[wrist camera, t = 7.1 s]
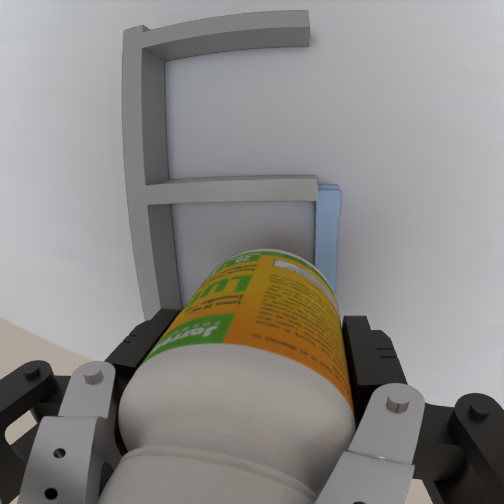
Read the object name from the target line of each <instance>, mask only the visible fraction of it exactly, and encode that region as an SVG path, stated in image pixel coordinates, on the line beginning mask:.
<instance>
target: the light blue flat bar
mask: <svg viewBox="0 0 504 504" xmlns="http://www.w3.org/2000/svg"><path fill="white" fill-rule="evenodd" d="M340 208H341V191H340V190H339V186H338V185H334V184H318V201H315V267H316V268H317V269H318V270H319V271H320V272H321V273H322V274H323V275H324V277H325V278H326V279H327V281H328V282H329V284H330V286H331V287H332V290H333V292H334V295H335V284H336V265H337V242H338V215H340Z"/></svg>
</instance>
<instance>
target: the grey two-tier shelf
mask: <svg viewBox="0 0 504 504" xmlns="http://www.w3.org/2000/svg"><path fill="white" fill-rule="evenodd" d="M309 40H310V23H309V13H308V10H287V11H267V12H254V13H244V14H235V15H227V16H219V17H213V18H206V19H200V20H195V21H189V22H184V23H179V24H175V25H170V26H166V27H161V28H157V29H153V30H150V29H148V28H147V27H145V26H144V25H140V26H137V27H133V28H130V29H127V30H124V34H123V54H122V131H123V153H124V168H125V182H126V193H127V203H128V213H129V222H130V230H131V238H132V245H133V253H134V259H135V266H136V272H137V278H138V284H139V290H140V296H141V301H142V307H143V312H144V317H145V321H147V320H151V319H152V318H153V317H154V315H155V314H156V313H157V312H158V311H159V310H160V309H161V308H167V309H181V310H182V304H181V297H180V289H179V282H178V273H177V265H176V256H175V247H174V238H173V227H172V217H171V205H170V204H172V203H197V202H232V201H318V179H317V177H316V176H315V175H269V176H233V177H211V178H192V179H177V180H169V179H168V163H167V144H166V120H165V61H167V60H173V59H178V58H183V57H189V56H195V55H202V54H209V53H216V52H224V51H233V50H243V49H255V48H270V47H297V46H309Z"/></svg>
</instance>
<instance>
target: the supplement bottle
mask: <svg viewBox="0 0 504 504" xmlns="http://www.w3.org/2000/svg"><path fill="white" fill-rule="evenodd" d="M118 419H119V428H120V433H121V436H122V439H123V442H124V444H125V446H126V448H127V450H128V453H127V454H125V455H124V456H123V457H122V458H121V460H120V462H119V465H118V467H117V468H116V469H115V470H114V472H113V474H112V475H111V477H110V479H109V480H108V482H107V484H106V485H105V487H104V489H103V491H102V493H101V495H100V497H99V500H98V503H97V504H315V502H316V500H317V499H318V497H319V495H320V494H321V492H322V490H323V488H324V487H325V485H326V483H327V481H328V479H329V478H330V476H331V474H332V472H333V470H334V468H335V467H336V465H337V463H338V461H339V459H340V457H341V455H342V453H343V452H344V450H345V449H347V450H348V448H349V446H350V444H351V442H352V440H353V438H354V436H355V433H356V424H355V415H354V407H353V400H352V393H351V385H350V378H349V371H348V365H347V358H346V352H345V346H344V340H343V334H342V327H341V321H340V315H339V309H338V305H337V301H336V298H335V295H334V292H333V290H332V287H331V286H330V284H329V282H328V281H327V279H326V278H325V277H324V275H323V274H322V273H321V272H320V271H319V270H318V269H317V268H316V267H315V266H314V265H312V264H311V263H310V262H308V261H307V260H305V259H303V258H301V257H299V256H297V255H295V254H292V253H289V252H286V251H282V250H277V249H253V250H249V251H245V252H242V253H239V254H236V255H234V256H232V257H230V258H229V259H227V260H226V261H224V262H223V263H221V264H220V265H219V266H218V267H217V268H216V269H215V270H214V271H213V272H212V273H211V274H210V275H209V277H208V278H207V279H206V280H205V282H204V283H203V284H202V285H201V287H200V288H199V289H198V291H197V292H196V293H195V294H194V296H193V297H192V298H191V300H190V301H189V302H188V303H187V305H186V306H185V307H184V309H183V310H182V311H181V312H180V313H179V315H178V316H177V317H176V318H175V320H174V322H173V323H172V324H171V326H170V327H169V328H168V330H167V331H166V332H165V333H164V335H163V336H162V337H161V339H160V340H159V341H158V343H157V344H156V345H155V347H154V348H153V349H152V351H151V352H150V353H149V355H148V356H147V357H146V359H145V360H144V361H143V363H142V364H141V365H140V367H139V368H138V369H137V370H136V372H135V374H134V376H133V377H132V379H131V380H130V382H129V383H128V385H127V386H126V388H125V390H124V392H123V394H122V397H121V400H120V405H119V411H118Z"/></svg>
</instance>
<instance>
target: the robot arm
mask: <svg viewBox="0 0 504 504" xmlns="http://www.w3.org/2000/svg"><path fill="white" fill-rule="evenodd" d="M181 311H182V310H181V309H167V308H161V309H160V310H159V311H158V312H157V313H156V314H155V315H154V317H153V318H152V319H151V320H147V321H145V322H143V323H141V324H140V325H138V326H136V327H135V328H134V329H133V330H132V331H131V333H130V334H129V336H127V337H126V338H125V339H124V340H123V342H121V343H120V344H119V346H118V347H117V348H116V349H115V350H114V351H113V352H112V353H111V354H110V355H109V356H108V358H107V359H106V360H105V361H93V362H89V363H85V364H83V365H81V366H79V367H78V368H77V369H76V370H75V371H74V372H73V373H72V376H54V373H53V371H52V368H51V366H50V364H49V363H47V362H45V361H40V360H36V361H31V362H28V363H25V364H24V365H22V366H21V367H19V368H17V369H16V370H14V371H13V372H11V373H10V374H8V375H7V376H5V377H4V378H3V379H1V380H0V504H9V503H10V502H11V501H12V500H13V499H15V498H16V497H17V496H18V495H19V498H18V502H17V504H97V503H98V500H99V497H100V495H101V493H102V491H103V489H104V487H105V485H106V484H107V482H108V480H109V479H110V477H111V475H112V474H113V472H114V470H115V469H116V468H117V467H118V465H119V462H120V460H121V458H122V457H123V456H124V455H125V454H127V453H128V450H127V448H126V446H125V444H124V442H123V439H122V436H121V433H120V428H119V419H118V411H119V405H120V400H121V397H122V394H123V392H124V390H125V388H126V386H127V385H128V383H129V382H130V380H131V379H132V377H133V376H134V374H135V372H136V370H137V369H138V368H139V367H140V365H141V364H142V363H143V361H144V360H145V359H146V357H147V356H148V355H149V353H150V352H151V351H152V349H153V348H154V347H155V345H156V344H157V343H158V341H159V340H160V339H161V337H162V336H163V335H164V333H165V332H166V331H167V330H168V328H169V327H170V326H171V324H172V323H173V322H174V320H175V318H176V317H177V316H178V315H179V313H180V312H181ZM342 334H343V340H344V346H345V352H346V358H347V365H348V371H349V378H350V385H351V393H352V400H353V407H354V415H355V424H356V433H355V436H354V438H353V440H352V442H351V444H350V446H349V448H348V450H347V449H345V450H344V452H343V453H342V455H341V457H340V459H339V461H338V463H337V465H336V467H335V468H334V470H333V472H332V474H331V476H330V478H329V479H328V481H327V483H326V485H325V487H324V488H323V490H322V492H321V494H320V495H319V497H318V499H317V500H316V502H315V504H404V503H405V500H406V497H407V494H408V491H409V487H410V484H411V480H412V478H413V479H421V480H422V481H423V483H424V485H425V487H426V489H427V492H428V494H429V496H430V498H431V500H432V502H433V504H504V410H503V409H502V407H501V406H500V405H499V404H498V403H497V402H496V401H495V400H494V399H493V398H491V397H489V396H487V395H484V394H480V393H470V394H466V395H464V396H462V397H461V398H459V399H458V401H457V402H456V404H455V407H445V406H437V405H431V404H428V403H425V400H424V397H423V395H422V394H421V393H420V392H419V391H418V390H417V389H415V388H413V387H412V386H409V385H408V384H407V381H406V378H405V376H404V373H403V370H402V367H401V365H400V362H399V359H398V358H397V354H396V352H395V350H394V346H393V344H392V341H391V339H390V338H389V337H388V336H387V335H386V334H385V333H384V332H383V331H381V330H371V329H370V326H369V323H368V320H367V317H366V316H344V318H343V325H342ZM28 410H30V412H31V413H32V415H33V417H34V419H35V420H36V422H37V424H36V425H35V426H34V427H33V428H31V429H30V430H29V431H28V432H27V433H25V434H24V435H23V436H22V437H20V438H19V439H18V440H17V441H16V442H14V443H13V444H11V445H9V444H8V442H7V441H6V439H5V430H6V428H7V427H8V426H9V425H10V424H12V423H13V422H14V421H15V420H17V419H18V418H19V417H21V416H22V415H23V414H24V413H26V412H27V411H28Z"/></svg>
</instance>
